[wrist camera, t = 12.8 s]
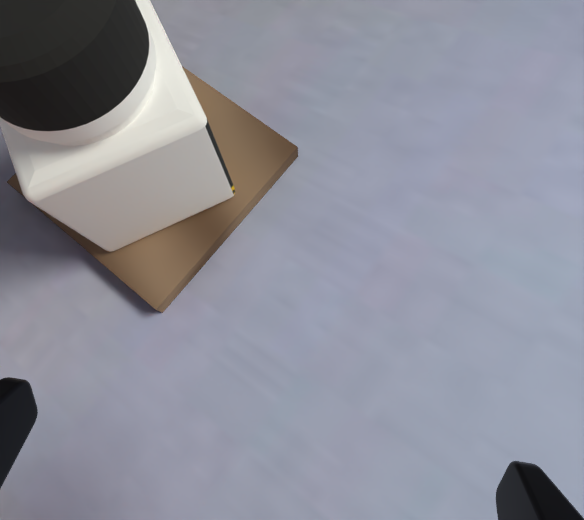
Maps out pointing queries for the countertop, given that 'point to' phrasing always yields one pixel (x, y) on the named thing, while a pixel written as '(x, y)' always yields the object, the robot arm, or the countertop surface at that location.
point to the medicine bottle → (104, 119)
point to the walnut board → (209, 223)
